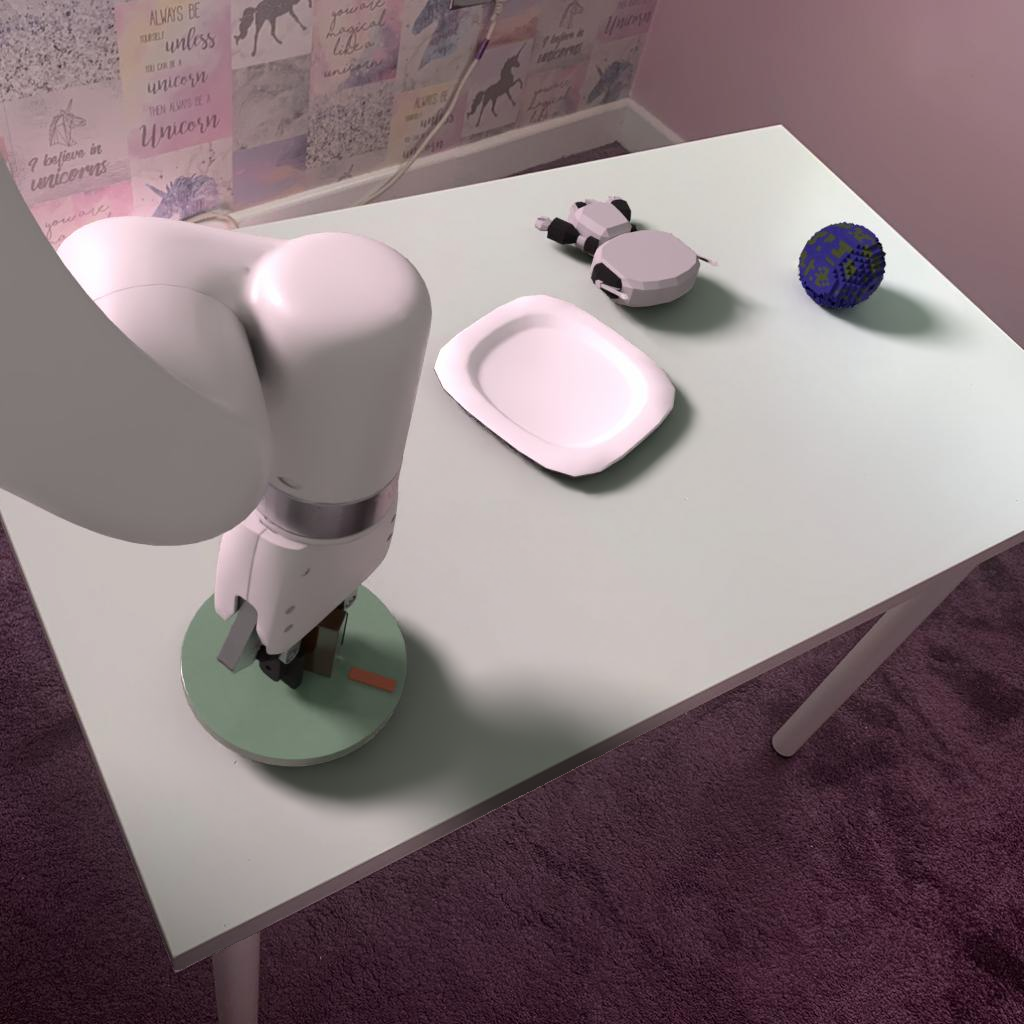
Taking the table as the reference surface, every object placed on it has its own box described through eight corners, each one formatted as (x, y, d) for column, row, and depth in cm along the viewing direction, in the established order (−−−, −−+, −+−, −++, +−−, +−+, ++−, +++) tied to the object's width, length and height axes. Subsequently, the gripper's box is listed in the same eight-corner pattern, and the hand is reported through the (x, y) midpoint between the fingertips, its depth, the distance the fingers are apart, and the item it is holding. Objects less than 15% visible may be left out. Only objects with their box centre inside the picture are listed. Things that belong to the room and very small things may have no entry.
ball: (772, 281, 108) (804, 220, 102) (815, 259, 112) (849, 200, 106) (831, 329, 105) (867, 270, 99) (873, 306, 109) (911, 247, 103)
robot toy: (520, 245, 104) (619, 335, 97) (528, 205, 100) (632, 295, 94) (611, 217, 110) (710, 299, 103) (622, 178, 107) (725, 261, 100)
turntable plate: (141, 725, 63) (135, 670, 58) (233, 546, 72) (235, 486, 67) (366, 796, 63) (380, 748, 58) (429, 610, 72) (446, 555, 67)
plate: (692, 402, 94) (699, 389, 93) (573, 508, 83) (579, 495, 82) (537, 290, 99) (541, 276, 97) (406, 377, 88) (409, 363, 87)
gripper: (372, 349, 58) (341, 543, 72) (139, 517, 48) (156, 704, 62) (480, 424, 56) (427, 608, 71) (261, 614, 47) (250, 783, 61)
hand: (300, 651), depth 66 cm, fingers closed on turntable plate, 3 cm apart
